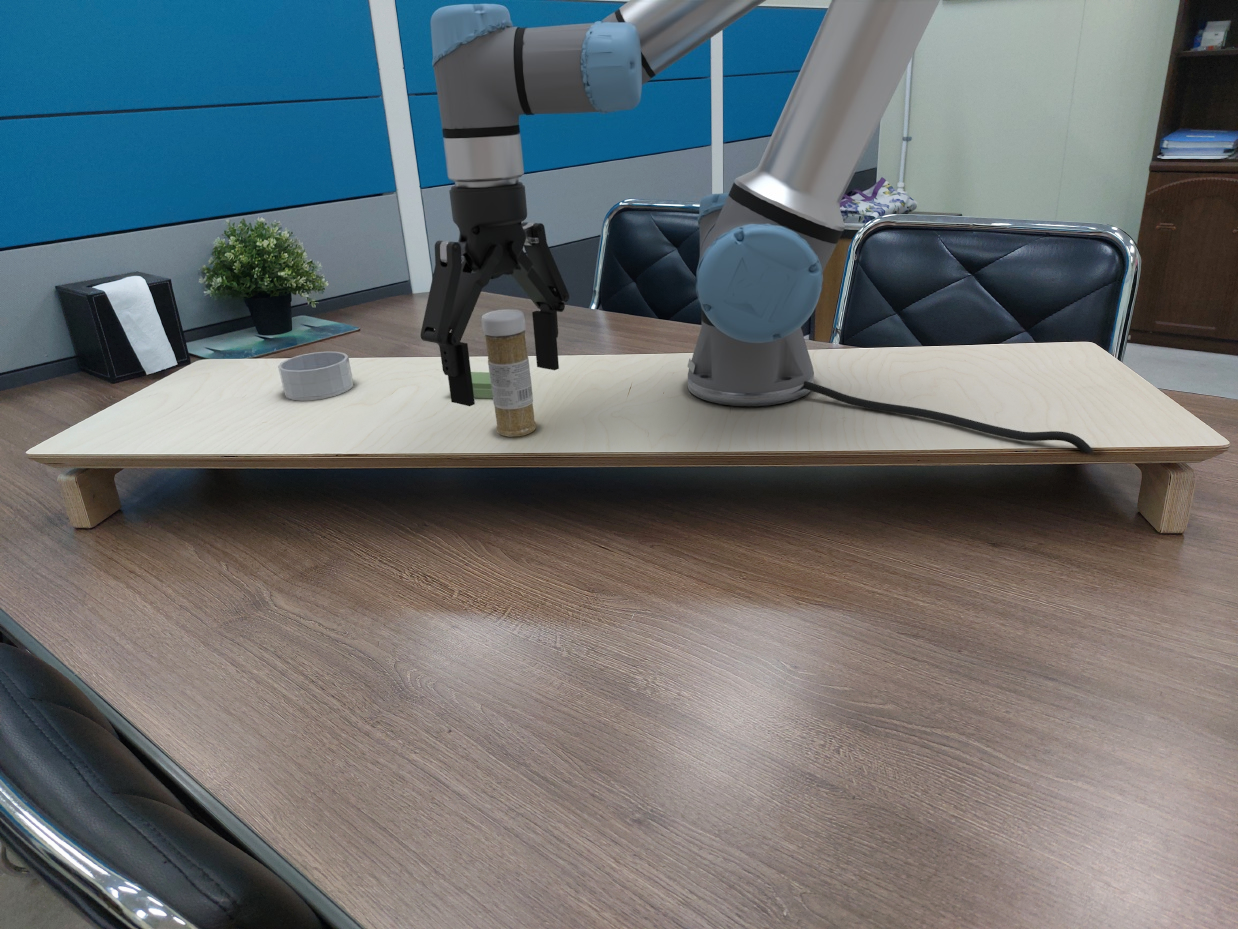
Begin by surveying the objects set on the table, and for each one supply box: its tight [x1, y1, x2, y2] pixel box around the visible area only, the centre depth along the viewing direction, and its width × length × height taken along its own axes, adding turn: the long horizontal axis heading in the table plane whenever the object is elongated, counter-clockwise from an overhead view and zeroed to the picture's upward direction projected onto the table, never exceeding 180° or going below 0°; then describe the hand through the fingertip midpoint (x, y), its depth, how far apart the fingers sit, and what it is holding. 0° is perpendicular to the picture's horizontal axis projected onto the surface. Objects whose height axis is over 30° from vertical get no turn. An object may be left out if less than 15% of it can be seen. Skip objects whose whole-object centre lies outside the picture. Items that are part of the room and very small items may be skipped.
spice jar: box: [481, 308, 537, 438], centre depth 91 cm, size 5×5×13 cm
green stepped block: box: [471, 371, 493, 399], centre depth 107 cm, size 8×5×2 cm, turn 75°
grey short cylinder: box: [277, 351, 354, 402], centre depth 111 cm, size 9×9×4 cm
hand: (507, 384), depth 92 cm, fingers open, 13 cm apart
